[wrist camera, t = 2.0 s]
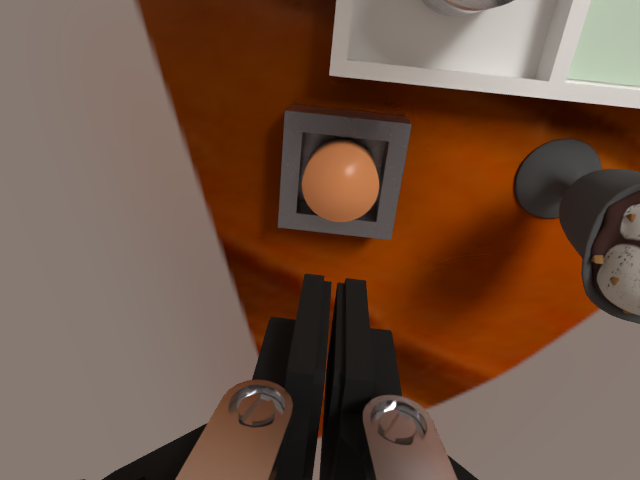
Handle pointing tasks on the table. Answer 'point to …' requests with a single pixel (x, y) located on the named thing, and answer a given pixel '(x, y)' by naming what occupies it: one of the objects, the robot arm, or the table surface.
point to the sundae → (590, 218)
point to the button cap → (340, 180)
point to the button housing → (360, 126)
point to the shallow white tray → (496, 48)
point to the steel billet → (463, 6)
